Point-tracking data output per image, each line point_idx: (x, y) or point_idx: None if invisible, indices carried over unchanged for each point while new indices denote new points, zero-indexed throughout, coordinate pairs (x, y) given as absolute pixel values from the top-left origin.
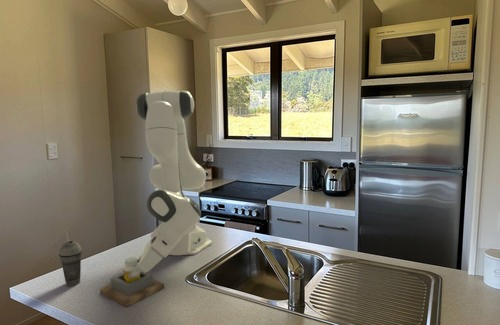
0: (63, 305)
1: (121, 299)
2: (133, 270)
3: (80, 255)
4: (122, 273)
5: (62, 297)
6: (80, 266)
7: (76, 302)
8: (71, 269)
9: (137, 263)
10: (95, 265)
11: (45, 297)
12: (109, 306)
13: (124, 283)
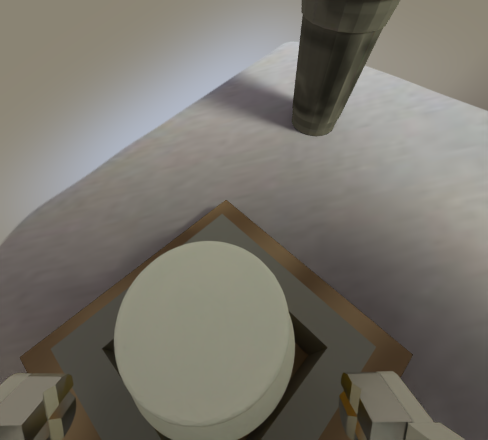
0: (168, 133)
1: (73, 320)
2: (16, 397)
3: (354, 16)
4: (277, 266)
5: (221, 120)
6: (342, 80)
7: (175, 158)
8: (301, 61)
9: (252, 406)
10: (461, 146)
11: (231, 90)
12: (91, 272)
13: (112, 312)
